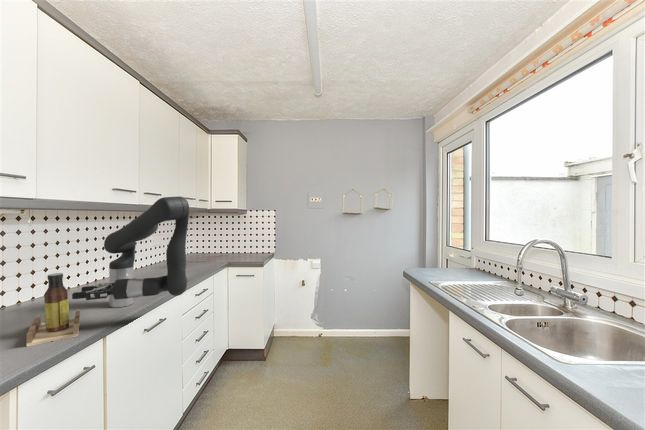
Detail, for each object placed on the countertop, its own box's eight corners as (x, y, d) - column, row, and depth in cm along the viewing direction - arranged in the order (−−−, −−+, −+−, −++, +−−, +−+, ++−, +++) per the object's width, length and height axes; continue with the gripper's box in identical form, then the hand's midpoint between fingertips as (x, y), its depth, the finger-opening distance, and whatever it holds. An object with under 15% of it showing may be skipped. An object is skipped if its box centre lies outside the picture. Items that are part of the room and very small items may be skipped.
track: (36, 326, 106) (36, 316, 106) (80, 319, 114) (80, 309, 114) (26, 346, 90) (26, 334, 90) (78, 336, 98) (78, 324, 98)
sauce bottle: (67, 324, 106) (67, 271, 106) (71, 328, 102) (71, 273, 102) (43, 329, 101) (43, 273, 101) (45, 334, 97) (45, 276, 97)
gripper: (133, 275, 116) (84, 278, 110) (125, 282, 103) (69, 287, 97) (133, 293, 116) (84, 297, 110) (125, 303, 103) (69, 309, 97)
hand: (77, 292), depth 103 cm, fingers open, 8 cm apart
